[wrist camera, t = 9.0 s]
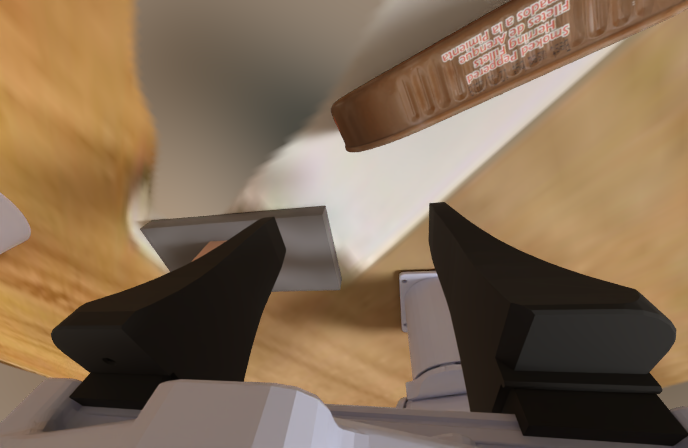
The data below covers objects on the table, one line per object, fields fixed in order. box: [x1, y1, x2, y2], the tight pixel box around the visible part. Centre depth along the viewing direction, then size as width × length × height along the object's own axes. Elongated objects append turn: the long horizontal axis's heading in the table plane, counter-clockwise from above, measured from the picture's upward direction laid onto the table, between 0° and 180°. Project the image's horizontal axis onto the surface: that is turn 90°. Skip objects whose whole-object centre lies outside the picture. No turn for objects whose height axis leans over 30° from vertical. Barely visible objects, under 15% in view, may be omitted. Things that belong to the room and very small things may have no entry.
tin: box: [331, 0, 688, 152], centre depth 12 cm, size 15×3×8 cm, turn 117°
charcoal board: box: [140, 206, 342, 292], centre depth 26 cm, size 9×18×2 cm, turn 99°
